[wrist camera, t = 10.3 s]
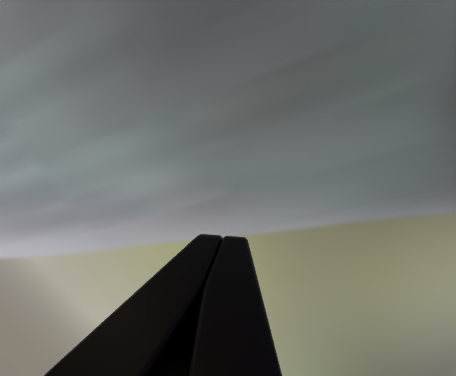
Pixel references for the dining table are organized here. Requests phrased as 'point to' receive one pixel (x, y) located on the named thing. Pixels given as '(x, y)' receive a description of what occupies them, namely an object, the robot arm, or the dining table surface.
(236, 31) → the dining table surface
